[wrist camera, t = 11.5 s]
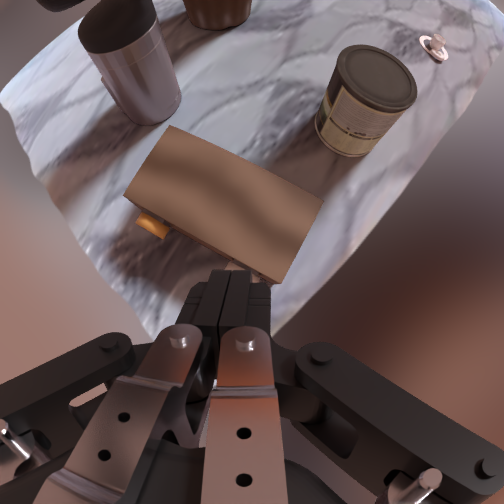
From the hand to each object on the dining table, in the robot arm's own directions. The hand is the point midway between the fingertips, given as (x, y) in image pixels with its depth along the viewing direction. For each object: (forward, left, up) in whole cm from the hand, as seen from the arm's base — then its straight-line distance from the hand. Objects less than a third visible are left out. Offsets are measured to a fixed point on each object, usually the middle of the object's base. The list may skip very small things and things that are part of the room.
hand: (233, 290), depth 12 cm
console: (-5, +8, -27) cm, 28 cm away
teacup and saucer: (+21, +61, -27) cm, 70 cm away
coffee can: (+7, +27, -27) cm, 39 cm away
